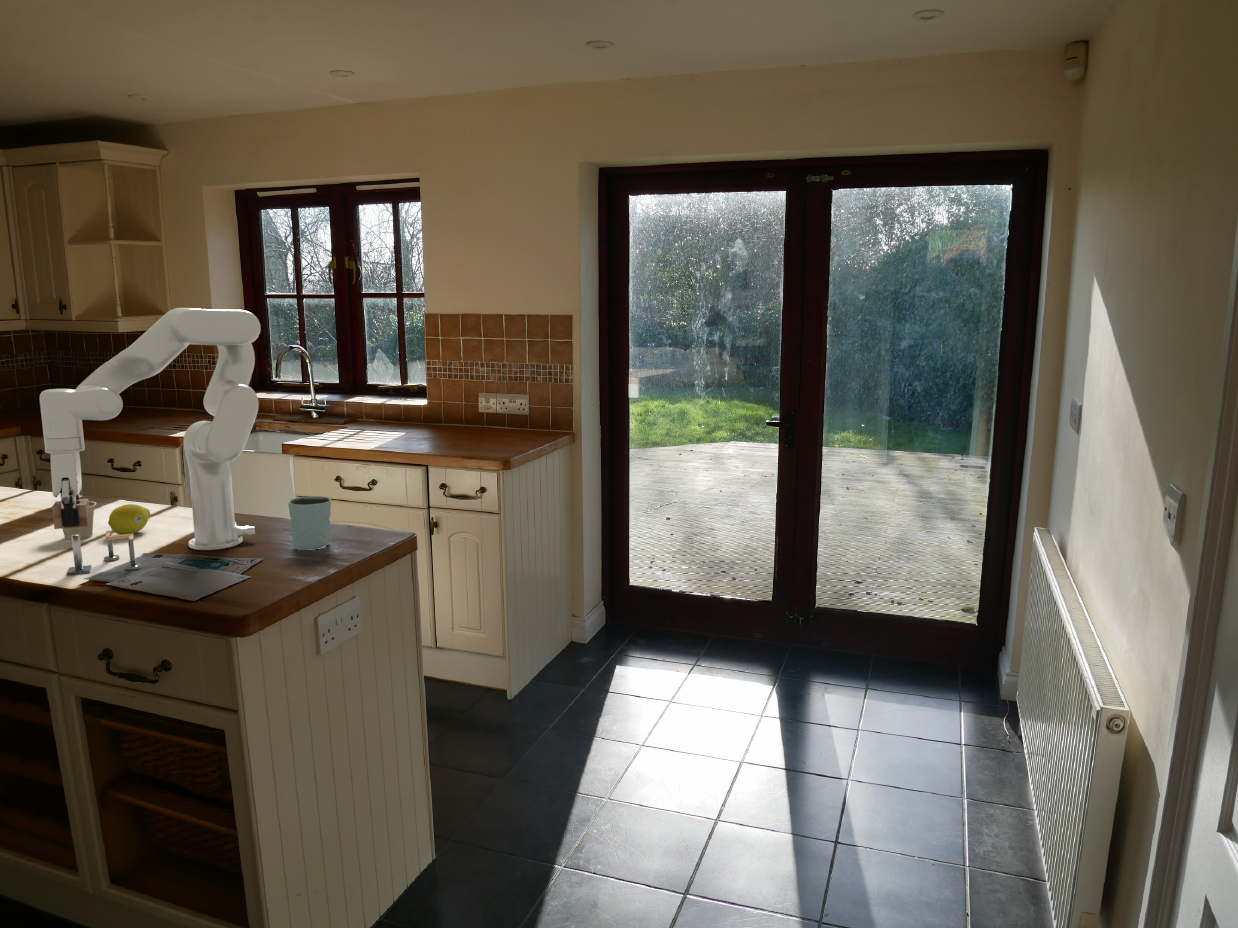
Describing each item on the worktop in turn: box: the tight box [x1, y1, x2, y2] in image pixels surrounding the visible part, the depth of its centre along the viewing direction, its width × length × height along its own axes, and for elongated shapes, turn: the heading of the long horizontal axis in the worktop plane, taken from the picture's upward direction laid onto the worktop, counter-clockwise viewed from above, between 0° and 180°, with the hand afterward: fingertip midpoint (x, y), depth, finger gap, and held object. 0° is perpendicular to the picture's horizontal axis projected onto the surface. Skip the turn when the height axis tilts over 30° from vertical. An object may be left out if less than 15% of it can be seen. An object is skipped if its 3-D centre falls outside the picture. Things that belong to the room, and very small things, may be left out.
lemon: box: [107, 503, 151, 535], centre depth 231 cm, size 11×8×8 cm
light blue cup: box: [287, 495, 332, 551], centre depth 221 cm, size 10×10×12 cm
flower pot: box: [62, 501, 97, 541], centre depth 227 cm, size 9×9×9 cm
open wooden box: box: [51, 498, 91, 530], centre depth 197 cm, size 6×6×5 cm
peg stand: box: [66, 534, 92, 576], centre depth 199 cm, size 4×4×9 cm
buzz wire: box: [103, 530, 142, 571], centre depth 205 cm, size 5×14×7 cm, turn 62°
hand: (72, 521), depth 198 cm, fingers closed on open wooden box, 6 cm apart
